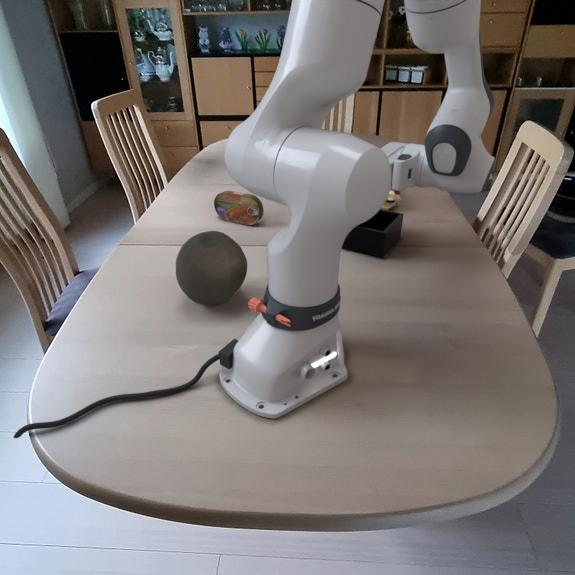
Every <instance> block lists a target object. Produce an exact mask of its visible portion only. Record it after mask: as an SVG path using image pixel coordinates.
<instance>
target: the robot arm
mask: <svg viewBox="0 0 575 575" xmlns="http://www.w3.org/2000/svg"><path fill="white" fill-rule="evenodd" d="M385 1H386V0H291V5H290V9H289V15H288V20H287V24H286V30H285V34H284V39H283V44H282V48H281V52H280V57H279V61H278V64H277V67H276V69H275V73H274V75H273V77H272V80H271V81H270V84H269V85H268V87H267V90H266V92H265V94H264V96H263V97H262V99H261V100H260V102H259V103H258V105H257V107H256V108H255V109H254V111H253V112H252V113H251V114H250V115H249V117H247V118H246V119H245V120H244V121H242V122H241V123H239V124H238V125H237V126H236V127H234V129H233V130H232V131H231V132H230V135H229V137H228V139H227V141H226V145H225V148H224V164H225V168H226V171H227V173H228V175H229V177H230V178H231V179H232V180H233V181H234V182H235V183H237V185H240V186H241V187H242V188H244V189H245V190H247V191H248V192H250V194H252V195H254V196H256V197H258V198H259V197H260V198H262V199H265V200H268V201H272V202H275V203H278V204H279V205H283V206H285V207H287V209H288V212H289V214H290V222H289V225H288V226H285V227H283V228H281V229H280V230H278V231H277V232H276V233H275V234H274V235H273V236H272V237H271V239H270V240H269V242H268V243H267V246H266V251H265V252H266V253H265V254H266V268H267V269H266V270H267V285H266V288H265V291H264V295H263V299H262V300H261V299H259V298H258V297H256V296H254V297H252V298H251V299H249V301H248V308H249V309H250V310H252V311H254V312H255V313H257V316H256V317H255V319H254V320H253V321H252V322H251V323H250V325H249V327H248V328H247V329H246V331H245V332H244V333H243V334H242V336H241V337H240V338H239V339H237V338H233V339H232V340H231V341H230V342H229V343H227V344H226V345H225V346H223V347H222V348H221V349H220V350H218V352H217V354H215V355H214V356H212V357H210V358H209V359H208V360H206V361H205V362H204V363H203V364H202V366H200V368H199V370H198V371H197V373H196V375H195V376H194V377H193V378H192V379H191V380H189V381H188V382H186V383H184V384H181V385H179V386H176V387H170V388H165V389H163V388H162V389H156V390H151V391H145V392H136V393H124V394H116V395H111V396H107V397H104V398H102V399H99V400H96V401H94V402H92V403H90V404H89V405H87V406H85V407H83V408H81V409H79V410H78V411H76V412H75V413H72V414H70V415H68V416H66V417H63V418H62V419H57V420H53V421H44V422H32V423H28V424H26V425H24V426H22V427H21V428H19V429H18V430H17V431H16V432H15V433H14V434H13V439H19V438H20V437H22V436H23V435H24V434H25V433H27V432H29V431H33V430H41V429H42V430H43V429H53V428H57V427H61V426H64V425H66V424H67V425H68V424H69V423H71V422H74V421H75V420H77V419H79V418H81V417H82V416H84V415H87V413H89V412H91V411H93V410H94V409H96V408H99V407H101V406H104V405H106V404H109V403H114V402H118V401H128V400H139V399H147V398H152V397H159V396H160V397H161V396H164V395H165V396H166V395H172V394H177V393H180V392H183V391H185V390H188V389H190V388H191V387H193V386H194V385H196V384H197V383H198V382H199V381H200V380H201V378H202V377H203V375H204V373H205V372H206V370H207V369H208V368H209V367H210V366H211V365H213V364H214V363H216V362H217V361H219V365H220V366H222V368H221V369H220V370H219V374H218V375H219V382H220V385H221V387H222V388H223V390H224V391H225V393H226V394H227V395H228V396H229V397H230V398H231V399H232V400H233V401H234V402H235V403H237V404H238V405H239V406H241V407H242V408H244V409H245V410H247V411H248V412H250V413H252V414H254V415H257V416H259V417H263V418H267V419H272V420H273V419H274V420H275V419H278V418H281V417H282V416H284V415H286V414H288V413H289V412H291V411H293V410H295V409H297V408H299V407H301V406H302V405H304V404H306V403H308V402H309V401H311V400H313V399H315V398H317V397H318V396H320V395H322V394H324V393H326V392H327V391H329V390H331V389H333V388H335V387H336V386H338V385H341V383H344V382H345V381H347V379H348V377H349V376H348V369H347V367H346V366H347V365H346V364H345V350H344V346H343V335H342V329H341V324H340V320H339V311H340V307H341V301H342V300H341V299H342V297H341V286H340V284H339V272H340V262H341V254H342V250H343V249H342V245H343V243H344V240H345V238H346V237H347V235H348V234H349V232H350V231H351V230H352V229H353V228H355V227H356V226H358V225H359V224H361V223H364V222H366V221H367V220H369V219H370V218H372V217H373V216H374V215H375V214H376V213H377V212H378V211H379V210H380V209H383V208H382V206H383V205H384V203H385V201H386V199H387V197H388V195H389V192H390V191H394V190H397V191H400V192H401V191H404V190H406V189H409V188H416V187H417V188H422V189H423V188H425V189H427V188H436V189H437V190H439V191H442V192H449V193H456V194H468V195H469V194H478V193H482V191H483V190H485V189H486V187H487V186H488V183H489V180H490V177H491V176H492V172H493V170H494V169H495V164H496V158H495V156H494V155H492V154H490V153H489V151H488V150H487V148H486V147H485V145H484V143H483V140H482V134H483V131H484V129H485V126H486V125H487V123H488V121H489V119H490V118H491V116H492V114H493V112H494V109H495V104H496V103H495V97H494V94H493V92H492V90H491V87H490V86H489V84H488V82H487V80H486V76H485V73H484V62H483V51H482V50H483V49H482V39H481V29H480V24H481V22H480V21H481V6H482V5H481V2H482V0H403V4H404V9H405V10H404V11H405V17H406V23H407V27H408V31H409V34H410V38H411V39H412V42H413V44H414V45H415V47H417V48H418V49H420V50H422V51H424V52H426V53H429V54H437V55H439V54H440V55H441V54H443V55H444V62H445V68H446V73H447V80H448V85H447V90H446V92H445V95H444V97H443V100H442V102H441V104H440V106H439V108H438V110H437V112H436V114H435V116H434V118H433V120H432V121H431V123H430V125H429V127H428V129H427V131H426V133H425V137H424V141H423V144H420V143H412V142H410V143H405V142H398V141H390V142H388V143H386V144H385V145H384V146H382V147H381V148H380V147H378V146H377V145H374V144H372V143H371V142H369V141H367V140H364V139H362V138H360V137H358V136H356V135H353V134H351V133H347V132H346V133H345V132H340V131H335V130H331V129H325V128H322V127H323V124H324V123H325V120H326V118H327V117H328V115H329V113H330V112H331V111H332V109H333V108H335V106H336V105H337V104H338V103H340V102H341V101H343V100H345V99H347V98H349V97H351V96H353V95H354V94H355V93H357V92H358V91H359V90H360V89H361V87H363V85H364V83H365V81H366V79H367V77H368V72H369V67H370V64H371V60H372V55H373V51H374V47H375V43H376V39H377V35H378V30H379V27H380V23H381V18H382V14H383V10H384V6H385Z"/></svg>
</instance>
